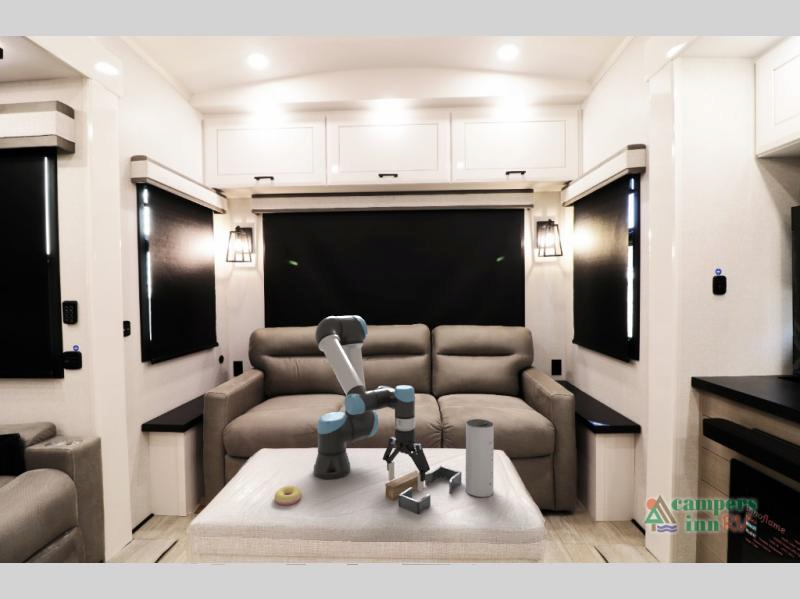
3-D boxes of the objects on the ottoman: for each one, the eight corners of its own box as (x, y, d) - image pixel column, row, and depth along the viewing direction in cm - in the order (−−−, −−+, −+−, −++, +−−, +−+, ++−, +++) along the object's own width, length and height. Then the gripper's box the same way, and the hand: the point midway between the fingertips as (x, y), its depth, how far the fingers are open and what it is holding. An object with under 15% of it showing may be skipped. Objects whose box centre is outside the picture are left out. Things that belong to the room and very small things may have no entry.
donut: (297, 497, 153) (272, 498, 149) (299, 484, 154) (273, 485, 150) (303, 505, 144) (276, 507, 140) (304, 491, 145) (277, 493, 141)
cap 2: (424, 484, 158) (424, 473, 158) (438, 474, 166) (438, 465, 166) (451, 493, 151) (451, 482, 151) (463, 482, 159) (463, 472, 159)
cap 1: (398, 506, 142) (398, 494, 142) (410, 498, 148) (410, 487, 148) (419, 514, 137) (419, 502, 137) (430, 505, 143) (430, 494, 142)
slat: (385, 497, 149) (385, 483, 149) (416, 482, 160) (416, 470, 160) (392, 501, 146) (392, 487, 146) (423, 486, 157) (423, 473, 157)
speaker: (476, 481, 161) (476, 415, 160) (499, 490, 153) (499, 421, 152) (459, 490, 153) (460, 421, 152) (483, 501, 146) (483, 428, 145)
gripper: (373, 424, 157) (374, 479, 157) (427, 437, 142) (428, 498, 142) (385, 419, 163) (386, 472, 163) (438, 431, 148) (439, 489, 148)
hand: (405, 484), depth 153 cm, fingers open, 13 cm apart
